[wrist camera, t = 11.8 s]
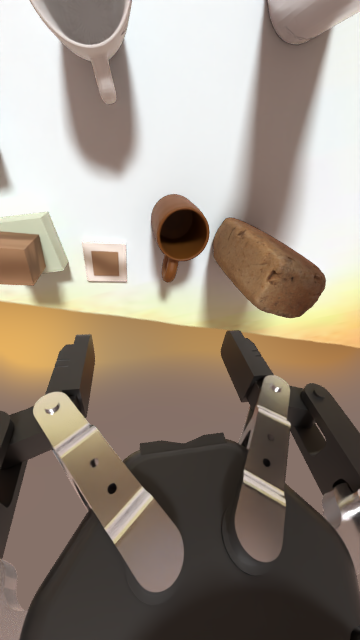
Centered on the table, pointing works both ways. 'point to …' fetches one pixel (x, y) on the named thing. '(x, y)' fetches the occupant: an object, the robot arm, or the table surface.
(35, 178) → the table surface
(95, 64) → the mug
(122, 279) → the tile
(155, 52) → the table surface
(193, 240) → the mug
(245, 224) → the brown tall piece
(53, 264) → the base block
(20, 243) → the walnut block
